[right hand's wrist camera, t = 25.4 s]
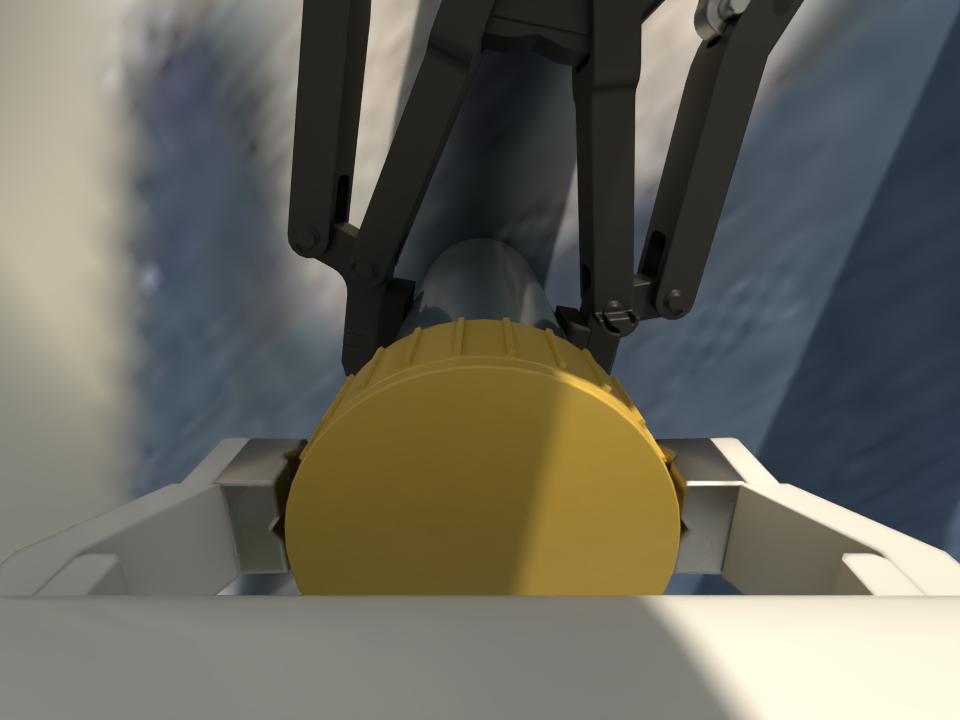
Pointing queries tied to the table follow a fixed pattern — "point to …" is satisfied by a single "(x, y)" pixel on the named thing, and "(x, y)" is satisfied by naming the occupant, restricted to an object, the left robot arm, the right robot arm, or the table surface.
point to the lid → (482, 474)
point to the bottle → (480, 289)
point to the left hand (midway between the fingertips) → (457, 467)
